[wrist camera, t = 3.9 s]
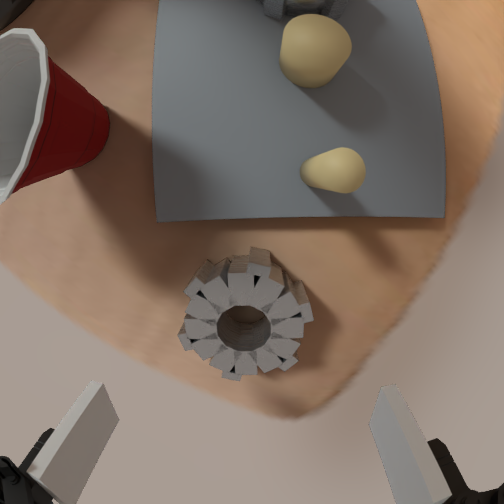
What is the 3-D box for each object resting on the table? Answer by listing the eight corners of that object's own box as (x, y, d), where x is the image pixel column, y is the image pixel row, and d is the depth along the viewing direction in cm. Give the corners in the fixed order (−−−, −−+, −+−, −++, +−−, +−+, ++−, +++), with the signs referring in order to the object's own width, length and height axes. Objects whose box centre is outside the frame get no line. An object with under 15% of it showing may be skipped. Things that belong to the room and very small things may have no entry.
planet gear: (196, 351, 24) (186, 379, 20) (182, 248, 21) (166, 264, 17) (302, 350, 23) (309, 379, 19) (306, 244, 21) (316, 260, 17)
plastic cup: (121, 208, 20) (11, 243, 9) (34, 183, 20) (-64, 200, 8) (158, 77, 18) (72, 7, 6) (62, 73, 17) (-28, 43, 6)
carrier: (163, 219, 21) (108, 246, 12) (167, -15, 15) (136, -69, 7) (434, 215, 20) (503, 237, 12) (404, -6, 14) (444, -47, 6)
